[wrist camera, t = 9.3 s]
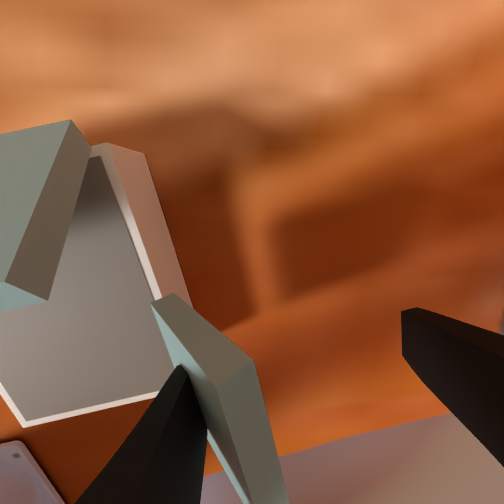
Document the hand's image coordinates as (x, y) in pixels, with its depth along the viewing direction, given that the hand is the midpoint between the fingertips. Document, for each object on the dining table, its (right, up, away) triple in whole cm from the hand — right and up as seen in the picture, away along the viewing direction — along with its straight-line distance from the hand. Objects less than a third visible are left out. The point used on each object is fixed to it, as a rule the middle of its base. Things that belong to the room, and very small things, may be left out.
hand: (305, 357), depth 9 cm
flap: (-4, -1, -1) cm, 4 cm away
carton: (-11, +3, +6) cm, 13 cm away
